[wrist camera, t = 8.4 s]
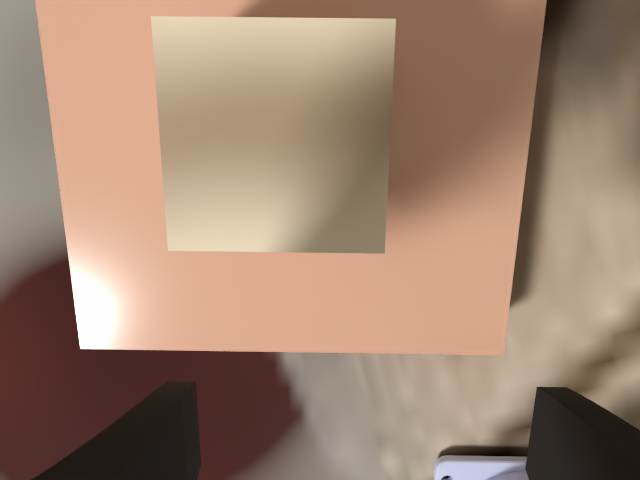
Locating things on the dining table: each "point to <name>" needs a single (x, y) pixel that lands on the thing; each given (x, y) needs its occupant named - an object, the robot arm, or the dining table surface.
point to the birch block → (274, 132)
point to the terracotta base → (291, 267)
